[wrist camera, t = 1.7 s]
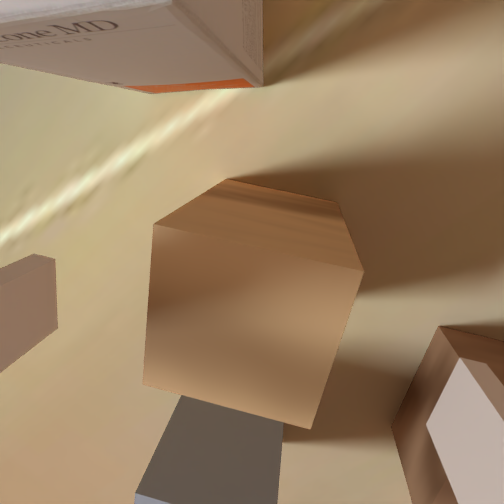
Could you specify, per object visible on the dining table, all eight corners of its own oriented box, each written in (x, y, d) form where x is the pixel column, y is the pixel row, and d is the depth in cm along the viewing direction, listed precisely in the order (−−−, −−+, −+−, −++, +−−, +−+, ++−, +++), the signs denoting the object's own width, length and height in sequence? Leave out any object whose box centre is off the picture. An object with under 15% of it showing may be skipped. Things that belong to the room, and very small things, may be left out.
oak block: (226, 178, 18) (153, 223, 9) (337, 202, 17) (364, 271, 9) (211, 277, 20) (142, 384, 12) (309, 300, 19) (310, 429, 11)
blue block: (199, 356, 22) (135, 492, 14) (287, 378, 22) (274, 534, 13) (190, 420, 24) (129, 571, 16) (269, 441, 24) (249, 609, 16)
